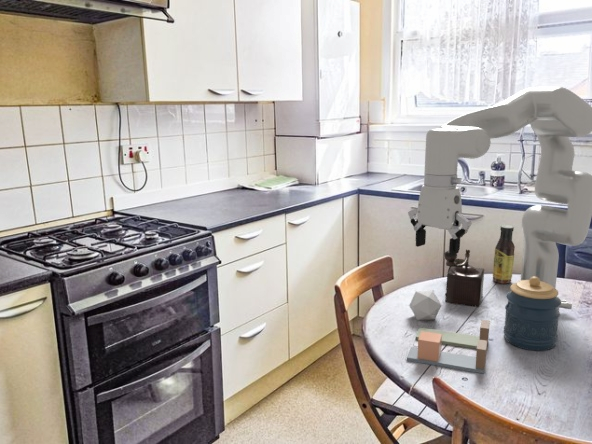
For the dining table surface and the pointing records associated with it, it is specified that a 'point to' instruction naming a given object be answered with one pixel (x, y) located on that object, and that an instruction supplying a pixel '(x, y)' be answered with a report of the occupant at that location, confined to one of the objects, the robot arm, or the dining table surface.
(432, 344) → the terracotta block
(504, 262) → the sauce bottle
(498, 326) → the dining table surface
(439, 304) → the die
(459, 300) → the manual coffee grinder
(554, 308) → the canister
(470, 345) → the empty strip
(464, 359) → the cargo strip
